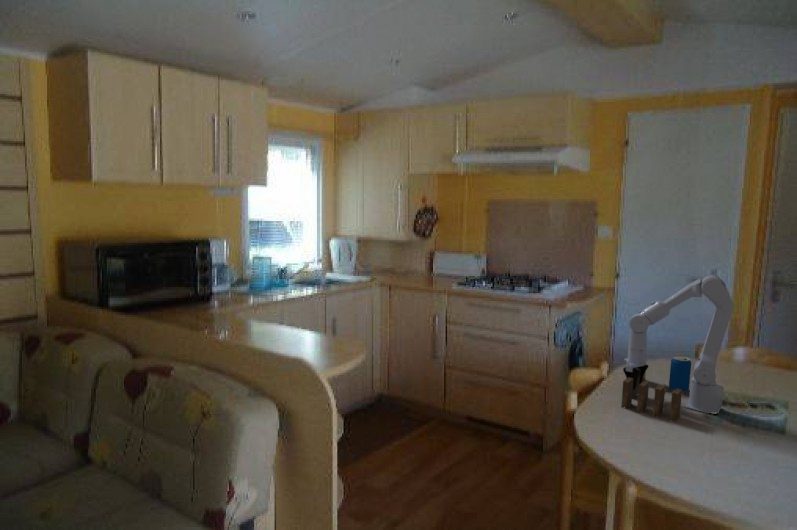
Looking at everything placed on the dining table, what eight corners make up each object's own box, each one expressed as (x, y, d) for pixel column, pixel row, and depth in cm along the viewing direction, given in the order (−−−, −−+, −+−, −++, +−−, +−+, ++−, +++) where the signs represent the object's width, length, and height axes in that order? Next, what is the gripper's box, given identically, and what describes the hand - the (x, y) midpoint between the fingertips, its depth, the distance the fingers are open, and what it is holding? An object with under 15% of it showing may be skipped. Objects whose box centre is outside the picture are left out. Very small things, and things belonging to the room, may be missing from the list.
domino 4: (663, 412, 182) (665, 385, 181) (658, 417, 178) (660, 389, 177) (657, 410, 183) (660, 384, 182) (653, 415, 179) (655, 388, 178)
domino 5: (679, 416, 179) (682, 389, 177) (675, 421, 175) (677, 393, 174) (674, 415, 180) (676, 388, 178) (669, 420, 176) (672, 392, 175)
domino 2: (638, 393, 196) (640, 368, 195) (633, 397, 193) (635, 372, 191) (634, 392, 197) (635, 367, 196) (629, 396, 194) (630, 371, 192)
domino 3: (647, 408, 185) (649, 381, 184) (641, 412, 181) (644, 386, 180) (642, 406, 186) (644, 380, 185) (636, 411, 182) (638, 384, 181)
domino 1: (631, 404, 188) (633, 378, 187) (626, 408, 185) (628, 382, 183) (626, 402, 189) (628, 377, 188) (621, 407, 186) (623, 381, 184)
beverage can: (691, 394, 198) (694, 361, 196) (671, 392, 199) (674, 360, 197) (685, 387, 204) (688, 356, 202) (666, 386, 205) (669, 354, 203)
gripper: (632, 342, 201) (630, 378, 203) (617, 350, 190) (615, 389, 192) (653, 345, 196) (650, 383, 198) (639, 355, 185) (636, 394, 187)
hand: (634, 386), depth 195 cm, fingers closed on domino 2, 5 cm apart
